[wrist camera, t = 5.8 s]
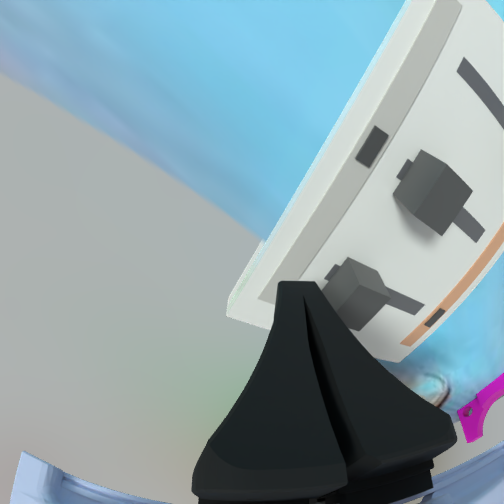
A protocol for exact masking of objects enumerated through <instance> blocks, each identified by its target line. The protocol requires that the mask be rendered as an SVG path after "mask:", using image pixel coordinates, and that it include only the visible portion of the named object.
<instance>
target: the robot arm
mask: <svg viewBox="0 0 504 504" xmlns="http://www.w3.org/2000/svg"><path fill="white" fill-rule="evenodd" d="M456 442H457V436H456V432H455V429H454V426H453V423H452V420H451V417H450V415H449V414H447V413H445V412H444V411H442V410H440V409H439V408H437V407H435V406H434V405H432V404H431V403H429V402H427V401H426V400H424V399H423V398H421V397H420V396H419V395H417V394H416V393H414V392H413V391H412V390H410V389H409V388H408V387H406V386H405V385H404V384H403V383H402V382H400V381H399V380H398V379H397V378H396V377H394V376H393V375H392V374H391V373H390V372H389V371H387V370H386V369H385V368H384V367H383V366H382V365H381V364H380V363H379V362H378V361H377V360H376V359H375V358H374V357H373V356H372V355H371V354H370V353H369V352H368V351H367V350H366V349H365V347H364V346H363V345H362V344H361V343H360V342H359V341H358V339H357V338H356V337H355V336H354V335H353V333H352V332H351V331H350V330H349V328H348V327H347V326H346V324H345V323H344V322H343V320H342V319H341V318H340V317H339V315H338V314H337V312H336V311H335V310H334V308H333V307H332V305H331V304H330V303H329V301H328V300H327V298H326V297H325V295H324V294H323V292H322V291H321V289H320V288H319V286H318V285H317V283H316V282H315V281H280V282H279V283H278V286H277V294H276V303H275V311H274V321H273V324H272V327H271V330H270V333H269V336H268V339H267V342H266V344H265V347H264V350H263V352H262V354H261V356H260V359H259V361H258V363H257V365H256V367H255V369H254V371H253V373H252V375H251V377H250V379H249V381H248V383H247V385H246V386H245V388H244V390H243V391H242V393H241V395H240V396H239V398H238V399H237V401H236V403H235V404H234V406H233V407H232V409H231V410H230V412H229V413H228V415H227V416H226V418H225V419H224V420H223V422H222V423H221V425H220V426H219V427H218V428H217V430H216V431H215V432H214V434H213V435H212V436H211V438H210V439H209V440H208V442H207V444H206V446H205V448H204V450H203V452H202V454H201V456H200V458H199V460H198V462H197V464H196V466H195V469H194V472H193V477H192V492H193V493H194V494H195V495H196V496H198V497H199V502H198V504H403V503H406V502H409V501H412V500H415V499H417V498H420V497H422V496H424V497H423V499H422V501H421V502H420V503H418V504H504V441H502V442H500V443H499V444H497V445H496V446H494V447H492V448H491V449H489V450H487V451H486V452H484V453H482V454H480V455H478V456H476V457H474V458H473V459H470V460H468V461H466V462H464V463H462V464H460V465H458V466H456V467H454V468H452V469H450V470H447V471H445V472H443V473H440V474H438V475H436V476H433V477H431V473H430V469H432V468H434V463H433V458H434V457H436V456H438V455H439V454H441V453H443V452H444V451H446V450H448V449H449V448H450V447H452V446H453V445H454V444H455V443H456ZM10 504H170V503H165V502H160V501H155V500H150V499H145V498H141V497H137V496H133V495H129V494H125V493H122V492H118V491H115V490H112V489H109V488H105V487H102V486H99V485H96V484H94V483H90V482H88V481H85V480H82V479H80V478H77V477H75V476H73V475H70V474H68V473H65V472H63V471H62V470H61V469H59V468H57V467H55V466H53V465H51V464H49V463H47V462H45V461H43V460H41V459H39V458H37V457H35V456H33V455H31V454H29V453H27V452H26V451H22V454H21V457H20V461H19V465H18V469H17V472H16V477H15V481H14V485H13V490H12V494H11V500H10Z"/></svg>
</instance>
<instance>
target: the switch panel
mask: <svg viewBox="0 0 504 504" xmlns="http://www.w3.org/2000/svg"><path fill="white" fill-rule="evenodd" d="M421 149H422V150H423V151H425V152H427V153H429V154H431V155H432V156H434V157H436V158H437V159H439V160H441V161H443V162H444V163H446V164H447V165H448V166H449V167H450V168H451V169H452V170H453V171H454V172H455V173H456V174H457V175H458V176H459V177H460V178H461V179H462V180H463V181H464V182H465V183H466V184H467V185H468V186H469V187H470V188H471V189H472V190H473V192H472V194H471V195H470V197H469V198H468V200H467V201H466V203H465V204H464V206H463V207H462V209H461V210H460V212H459V213H458V215H457V216H456V218H455V219H454V221H453V222H452V223H451V225H450V226H449V228H448V229H447V230H446V232H445V233H444V234H443V236H441V235H439V234H438V233H437V232H435V231H434V230H433V229H431V228H430V227H429V226H427V225H426V224H425V223H423V222H422V221H421V220H419V219H418V218H416V217H415V216H414V215H413V214H412V213H411V212H410V211H409V210H408V209H407V208H406V207H405V206H404V205H403V204H402V203H401V202H400V201H399V200H398V199H397V198H396V197H395V196H394V195H393V192H394V191H395V189H396V188H397V186H398V185H399V183H400V182H401V180H402V179H403V177H404V176H405V174H406V172H407V171H408V169H409V168H410V166H411V165H412V163H413V161H414V160H415V158H416V156H417V155H418V153H419V152H420V150H421ZM503 251H504V21H503V20H502V19H501V18H500V16H499V15H498V14H497V13H496V12H495V10H494V9H493V8H492V7H491V6H490V5H489V4H488V2H487V1H486V0H406V1H405V3H404V5H403V6H402V8H401V10H400V12H399V13H398V15H397V17H396V19H395V20H394V22H393V24H392V26H391V28H390V29H389V31H388V33H387V35H386V36H385V38H384V40H383V42H382V43H381V45H380V47H379V49H378V50H377V52H376V54H375V56H374V57H373V59H372V61H371V63H370V64H369V66H368V68H367V70H366V71H365V73H364V75H363V77H362V78H361V80H360V82H359V84H358V85H357V87H356V89H355V90H354V92H353V94H352V96H351V97H350V99H349V101H348V103H347V104H346V106H345V108H344V110H343V111H342V113H341V115H340V116H339V118H338V120H337V122H336V123H335V125H334V127H333V128H332V130H331V132H330V134H329V135H328V137H327V139H326V141H325V142H324V144H323V146H322V147H321V149H320V151H319V153H318V154H317V156H316V158H315V159H314V161H313V163H312V165H311V166H310V168H309V170H308V171H307V173H306V175H305V176H304V178H303V180H302V182H301V183H300V185H299V187H298V188H297V190H296V192H295V193H294V195H293V197H292V199H291V200H290V202H289V204H288V205H287V207H286V209H285V210H284V212H283V214H282V216H281V217H280V219H279V221H278V222H277V224H276V226H275V227H274V229H273V231H272V232H271V234H270V236H269V238H268V239H267V241H266V243H265V242H264V241H263V240H261V242H260V244H259V245H258V247H257V249H256V250H255V252H254V254H253V256H252V257H251V259H250V261H249V263H248V264H247V266H246V268H245V269H244V271H243V273H242V274H241V276H240V278H239V280H238V281H237V283H236V285H235V287H234V288H233V290H232V292H231V293H230V295H229V297H228V303H227V313H226V316H227V317H230V318H233V319H236V320H239V321H242V322H245V323H248V324H252V325H255V326H258V327H261V328H264V329H268V330H271V327H272V324H273V321H274V311H275V303H276V294H277V286H278V283H279V282H280V281H315V282H316V283H317V285H318V286H319V288H320V289H321V290H322V289H323V288H324V287H325V285H326V284H327V283H328V282H329V280H330V279H331V278H332V276H333V275H334V274H335V273H336V271H337V270H338V269H339V267H340V266H341V265H342V264H343V262H344V261H345V260H346V258H347V257H349V258H351V259H354V260H356V261H358V262H360V263H362V264H364V265H366V266H368V267H370V268H372V269H375V270H377V271H378V273H379V275H380V277H381V279H382V281H383V282H384V284H385V286H386V288H387V290H388V292H389V294H390V297H391V299H390V300H389V301H388V302H387V303H386V304H385V305H384V307H383V308H382V309H381V310H380V311H379V312H378V313H377V314H376V315H375V316H374V317H373V318H372V319H371V320H370V321H369V322H368V323H367V324H366V325H365V326H364V327H363V328H362V329H361V330H360V331H356V330H352V329H349V330H350V331H351V332H352V333H353V335H354V336H355V337H356V338H357V339H358V341H359V342H360V343H361V344H362V345H363V346H364V347H365V349H366V350H367V351H368V352H369V353H370V354H371V355H372V356H373V357H374V358H377V359H382V360H386V361H391V362H396V363H399V362H401V361H402V360H403V359H404V358H405V357H406V356H408V355H409V354H410V353H411V352H412V351H413V350H414V349H416V348H417V347H418V346H419V345H420V344H421V343H422V342H423V341H424V340H425V339H427V338H428V337H429V336H430V335H431V334H432V333H433V332H434V331H435V330H436V329H437V328H438V327H439V326H440V325H441V324H442V323H443V322H444V321H445V320H446V319H447V318H448V317H449V316H450V315H451V314H452V313H453V312H454V311H455V310H456V309H457V307H458V306H459V305H460V304H461V303H462V302H463V301H464V300H465V299H466V298H467V296H468V295H469V294H470V293H471V292H472V291H473V290H474V288H475V287H476V286H477V285H478V284H479V282H480V281H481V280H482V279H483V278H484V276H485V275H486V274H487V273H488V271H489V270H490V269H491V267H492V266H493V265H494V264H495V262H496V261H497V260H498V258H499V257H500V256H501V254H502V253H503Z"/></svg>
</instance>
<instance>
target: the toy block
mask: <svg viewBox="0 0 504 504" xmlns="http://www.w3.org/2000/svg"><path fill="white" fill-rule="evenodd" d="M503 394H504V373H503V374H502V375H500V376H499V377H498V378H497V379H495V380H494V381H493V382H492V383H490V384H489V385H488V386H487V387H485V388H484V389H483V390H481V391H480V392H479V393H477V394H476V395H477V398H476V399H474V400H473V401H471V402H470V403H469V404H467V405H466V406H464V407H463V408H461V409H460V410H458V411H457V412H458V415H459V418H460V421H461V424H462V427H463V431H464V434H465V437H466V440H467V443H470V442H474V441H475V440H477V439H478V438H480V437H482V436H483V422H484V419H485V416H486V414H487V412H488V410H489V408H490V407H491V405H492V404H493V403H494V402H495V401H496V400H497V399H498V398H499V397H500V396H502V395H503ZM471 408H472V410H473V411H472V414H471V415H470V416H469V410H470V409H471Z"/></svg>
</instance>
